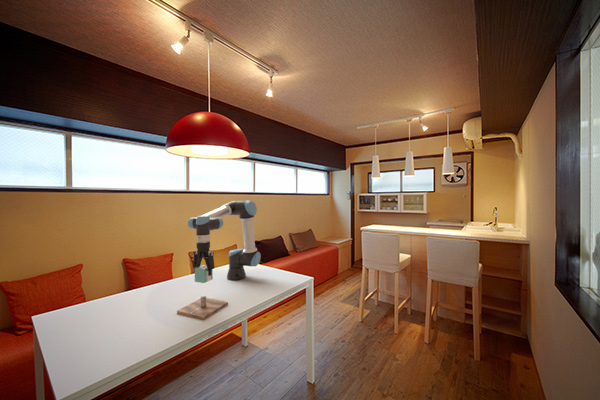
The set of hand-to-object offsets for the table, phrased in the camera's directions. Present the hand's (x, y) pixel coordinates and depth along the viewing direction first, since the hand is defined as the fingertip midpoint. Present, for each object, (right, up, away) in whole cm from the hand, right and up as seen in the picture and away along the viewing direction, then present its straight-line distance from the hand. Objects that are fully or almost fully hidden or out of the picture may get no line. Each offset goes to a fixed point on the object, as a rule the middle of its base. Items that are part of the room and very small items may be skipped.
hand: (203, 279), depth 142 cm
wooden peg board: (0, -17, 0) cm, 17 cm away
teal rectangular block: (0, 0, 0) cm, 0 cm away
